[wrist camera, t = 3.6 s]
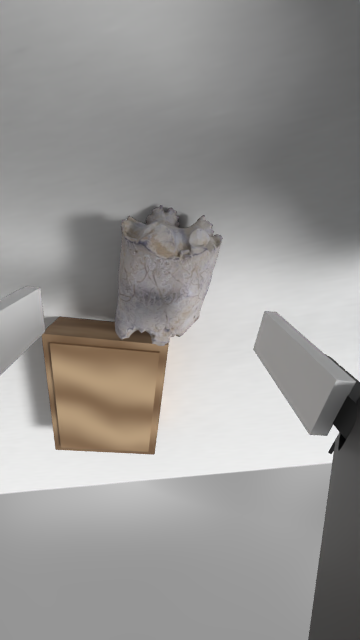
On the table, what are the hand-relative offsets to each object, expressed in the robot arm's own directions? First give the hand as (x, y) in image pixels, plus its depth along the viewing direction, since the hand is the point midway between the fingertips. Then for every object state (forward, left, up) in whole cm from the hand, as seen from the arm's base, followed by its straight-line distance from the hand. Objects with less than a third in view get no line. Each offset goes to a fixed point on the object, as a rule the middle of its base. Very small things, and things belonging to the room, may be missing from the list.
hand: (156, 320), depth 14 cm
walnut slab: (+14, -5, -11) cm, 18 cm away
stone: (-1, 0, -12) cm, 12 cm away
